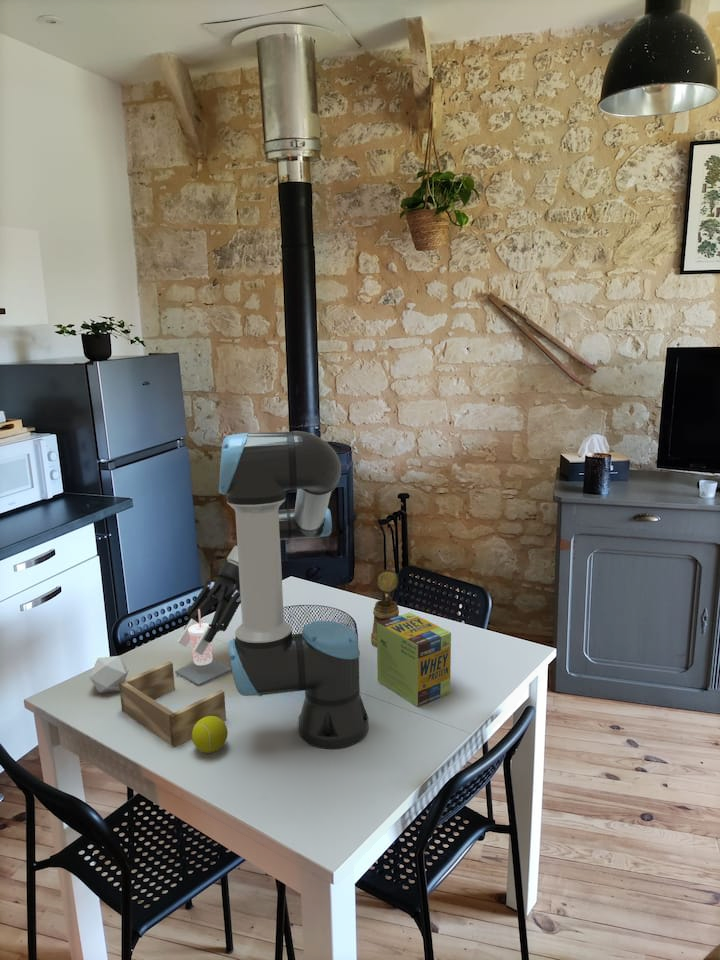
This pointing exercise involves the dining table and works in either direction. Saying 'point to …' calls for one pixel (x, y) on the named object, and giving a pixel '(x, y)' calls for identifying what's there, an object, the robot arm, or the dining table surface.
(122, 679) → the die
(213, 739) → the tennis ball
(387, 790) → the dining table surface
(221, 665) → the coaster
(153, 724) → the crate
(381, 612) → the gold trophy
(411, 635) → the protein box
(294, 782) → the dining table surface
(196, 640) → the beverage cup
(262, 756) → the dining table surface
